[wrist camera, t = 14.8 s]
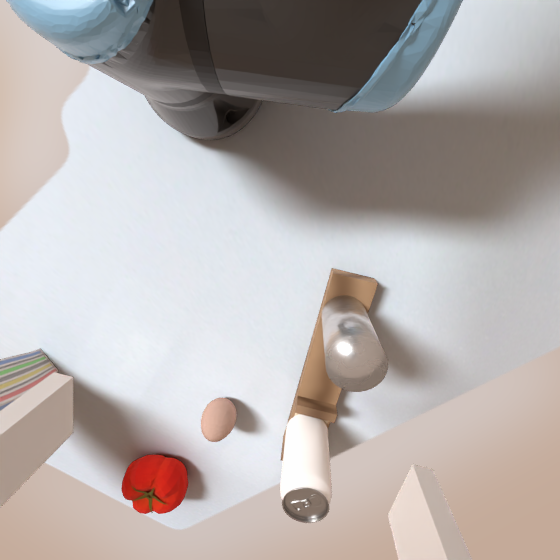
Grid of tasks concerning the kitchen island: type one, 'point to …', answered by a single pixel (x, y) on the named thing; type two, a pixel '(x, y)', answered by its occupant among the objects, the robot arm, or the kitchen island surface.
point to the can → (306, 470)
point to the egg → (218, 419)
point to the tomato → (155, 484)
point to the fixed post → (351, 345)
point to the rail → (314, 379)
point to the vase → (22, 374)
